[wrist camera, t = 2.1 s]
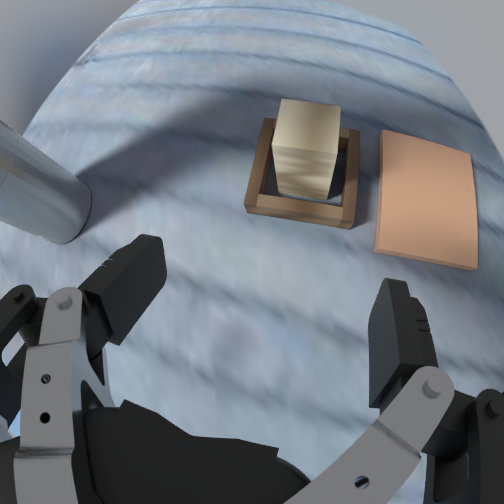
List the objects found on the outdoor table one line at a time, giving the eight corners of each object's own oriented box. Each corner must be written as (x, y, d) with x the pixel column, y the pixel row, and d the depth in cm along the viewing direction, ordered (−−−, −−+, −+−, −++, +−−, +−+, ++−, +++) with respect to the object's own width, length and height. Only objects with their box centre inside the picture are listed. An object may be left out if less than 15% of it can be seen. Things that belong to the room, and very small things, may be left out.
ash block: (278, 193, 30) (271, 145, 21) (286, 152, 31) (281, 98, 22) (326, 200, 29) (337, 154, 20) (331, 159, 30) (340, 106, 21)
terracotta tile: (374, 252, 27) (378, 248, 26) (379, 136, 30) (382, 129, 29) (470, 270, 25) (477, 268, 24) (464, 160, 28) (470, 154, 26)
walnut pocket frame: (247, 213, 30) (243, 203, 28) (266, 131, 32) (264, 118, 30) (349, 229, 28) (354, 221, 26) (356, 143, 30) (360, 131, 28)
